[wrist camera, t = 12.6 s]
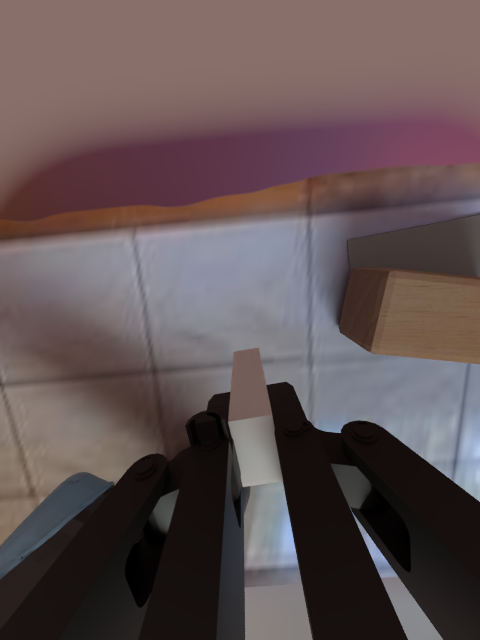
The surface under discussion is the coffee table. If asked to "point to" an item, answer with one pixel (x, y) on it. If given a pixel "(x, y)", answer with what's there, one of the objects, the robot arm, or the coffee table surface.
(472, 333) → the block
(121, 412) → the coffee table surface
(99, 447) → the coffee table surface
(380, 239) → the mat
